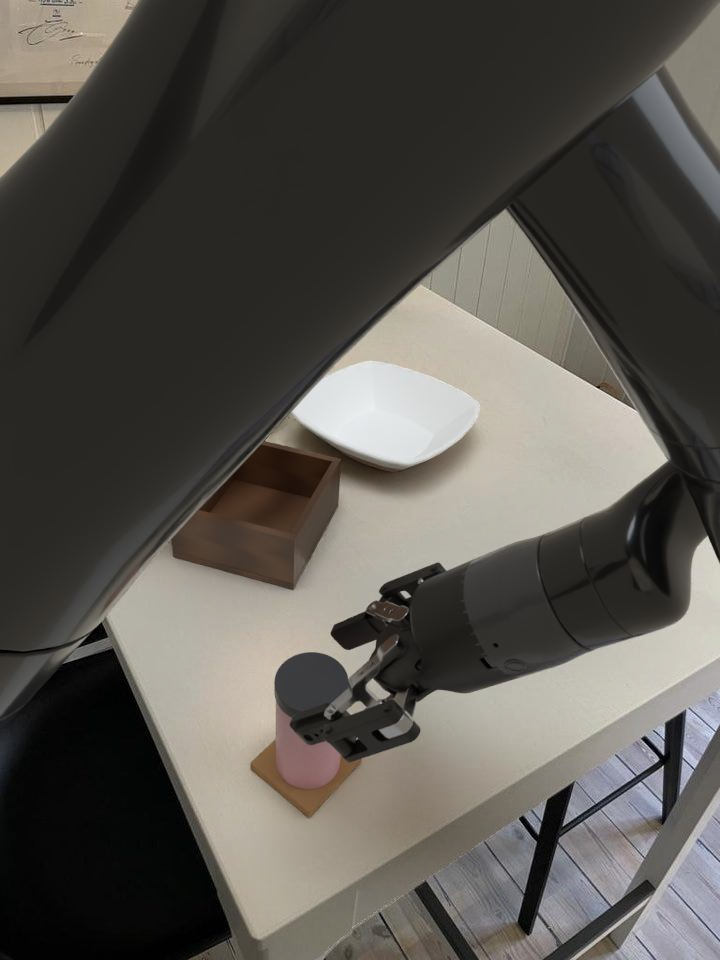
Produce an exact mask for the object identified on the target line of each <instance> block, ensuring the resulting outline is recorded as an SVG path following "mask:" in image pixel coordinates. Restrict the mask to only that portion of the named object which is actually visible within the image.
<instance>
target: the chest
mask: <svg viewBox="0 0 720 960" xmlns="http://www.w3.org/2000/svg"><path fill="white" fill-rule="evenodd" d="M341 466H342V458H340V457H339V458H338V457H335V456H330V455H326V454H321V453H317V452H313V451H309V450H305V449H300V448H296V447H291V446H288V445H284V444H279V443H274V442H270V441H266V440H265V441H264V442H263V443H262V444H261V445H260V446H259V447H258V448H257V449H256V451H255V452H254V453H253V454H252V455H251V456H250V457H249V458H248V459H247V460H246V461H245V462H244V463H243V464H242V465H241V466H240V468H239V469H238V470H237V471H236V472H235V473H234V474H233V475H232V476H231V477H230V478H229V479H228V480H227V481H226V482H225V483H224V484H223V485H222V486H221V487H220V489H219V490H218V491H217V492H216V493H215V494H214V495H213V496H212V497H211V498H210V499H209V500H208V501H207V502H206V503H205V504H204V505H203V506H202V507H201V508H200V509H199V510H198V511H197V512H196V514H195V515H194V516H193V517H192V518H191V519H190V520H189V521H188V522H187V523H186V524H185V525H184V526H183V527H182V528H181V529H180V530H179V532H178V533H177V534H176V535H175V536H174V537H173V538H172V539H171V540H170V542H171V548H172V549H171V551H172V557H173V558H175V559H179V560H184V561H187V562H191V563H194V564H198V565H203V566H206V567H209V568H212V569H213V568H214V569H217V570H220V571H223V572H227V573H232V574H235V575H238V576H243V577H246V578H250V579H253V580H257V581H260V582H265V583H268V584H271V585H275V586H279V587H283V588H286V589H290V590H294V589H295V587H296V586H297V584H298V582H299V580H300V578H301V576H302V575H303V572H304V571H305V569H306V567H307V565H308V563H309V562H310V559H311V557H312V556H313V554H314V552H315V550H316V548H317V547H318V544H319V543H320V541H321V539H322V537H323V535H324V533H325V531H326V530H327V528H328V526H329V524H330V522H331V520H332V518H333V516H334V515H335V513H336V511H337V509H338V507H339V501H340V500H339V499H340V485H341V468H342V467H341Z"/></svg>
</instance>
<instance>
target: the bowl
mask: <svg viewBox="0 0 720 960" xmlns="http://www.w3.org/2000/svg"><path fill="white" fill-rule="evenodd" d="M480 410H481V404H480V402H479V401H477V400H476V399H475V398H473V397H472V396H471V395H469V394H468V393H466V392H465V391H463V390H461V389H458V388H457V387H455V386H453V385H450V384H449V383H447V382H444V381H442V380H440V379H438V378H436V377H433V376H431V375H429V374H426V373H422V372H419V371H416V370H413V369H410V368H407V367H404V366H400V365H396V364H394V363H389V362H383V361H378V360H372V359H370V360H365V361H361V362H357V363H353V364H350V365H348V366H345V367H343V368H339V369H338V370H336V371H334V372H332V373H330V374H327V375H325V377H324V378H323V379H322V380H321V381H320V382H319V383H318V384H317V385H316V386H315V387H314V388H313V389H312V390H311V391H310V392H309V393H308V394H307V396H306V397H305V398H304V399H303V400H302V401H301V402H300V403H299V404H298V405H297V406H296V407H295V409H294V410H293V411H292V412H291V413H290V415H291V416H292V417H293V418H294V419H295V420H296V421H297V422H298V423H299V424H300V425H301V426H303V427H304V428H306V429H307V430H309V431H310V432H311V433H313V434H314V435H316V436H317V437H319V438H320V439H321V440H323V441H324V442H326V443H327V444H329V445H330V446H332V447H333V448H334V449H336V450H337V451H339V452H340V453H342V454H343V455H345V456H347V457H348V458H350V459H351V460H354V461H356V462H358V463H361V464H363V465H366V466H369V467H373V468H375V469H379V470H381V471H385V472H390V473H398V472H401V471H404V470H407V469H409V468H411V467H414V466H417V465H420V464H421V463H424V462H428V460H432V458H434V457H436V456H438V455H440V454H442V453H444V452H445V451H446V450H449V448H451V447H452V446H454V445H455V444H456V443H458V442H459V441H461V439H462V438H463V437H464V436H465V435H466V434H467V433H468V432H469V431H470V430H471V429H472V428H473V426H474V425H475V423H476V421H477V420H478V419H479V415H480Z"/></svg>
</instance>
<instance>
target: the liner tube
mask: <svg viewBox="0 0 720 960" xmlns="http://www.w3.org/2000/svg"><path fill="white" fill-rule="evenodd" d="M348 680H349V676H348V672H347V670H346V669H345V667H344V666H343V665H342V663H340V661H338V660H337V659H335V658H334V657H333V656H330V655H328V654H326V653H321V652H316V651H308V652H307V651H306V652H300V653H298V654H295V655H292V656H291V657H289V658H287V659H286V660H285V661H283V663H282V664H281V665H279V667H278V669H277V671H276V673H275V676H274V684H273V685H274V686H273V687H274V694H273V695H274V699H275V739H276V766H277V770H278V772H279V774H280V776H281V777H282V778H283V779H284V780H285V781H286V782H287V783H288V784H290V785H292V786H294V787H296V788H300V789H315V788H319V787H322V786H324V785H326V784H327V783H329V782H330V781H331V780H332V779H333V778H334V777H335V775H336V774H337V772H338V770H339V767H340V760H341V754H339V753H338V752H337V751H336V750H335V749H334V748H333V747H332V746H331V745H330V744H329V743H327V742H326V741H325V742H321V743H317V744H315V745H307V744H306V743H305V742H304V741H303V740H302V739H301V738H300V737H299V736H298V735H297V734H296V733H295V732H294V730H293V729H292V728H291V727H290V725H289V724H290V722H291V719H292V717H293V715H294V714H296V713H299V712H302V711H305V710H308V709H311V708H314V707H317V706H320V705H323V704H325V703H329V704H331V703H332V702H333V701H334V700H335V699H336V698H337V697H339V696H340V695H341V694H342V693H343V692H344V691H345V690H346V689H347V688H348V686H349V685H348Z"/></svg>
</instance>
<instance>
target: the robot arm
mask: <svg viewBox="0 0 720 960" xmlns="http://www.w3.org/2000/svg"><path fill="white" fill-rule="evenodd" d="M719 4H720V0H137V3H136V4H135V6H134V7H133V9H132V11H131V13H130V14H129V15H128V17H127V19H126V21H125V22H124V24H123V25H122V26H121V28H120V30H119V31H118V33H117V34H116V35H115V37H114V38H113V40H112V41H111V43H110V44H109V45H108V47H107V49H106V50H105V51H104V53H103V54H102V56H101V57H100V59H99V60H98V62H97V63H96V65H95V66H94V67H93V69H92V71H91V72H90V73H89V75H88V76H87V78H86V79H85V81H84V82H83V84H82V85H81V86H80V88H78V90H77V91H76V93H75V94H74V95H73V96H72V97H71V99H70V100H69V101H68V102H67V103H66V105H65V106H64V107H63V108H62V110H61V111H60V112H59V113H58V115H56V117H55V118H54V120H53V121H52V122H51V124H50V125H49V126H48V127H47V128H46V130H45V131H44V132H43V133H42V134H41V135H40V136H39V137H38V138H37V139H36V140H35V142H33V143H32V144H31V146H30V147H29V148H28V149H26V151H25V152H24V153H22V155H21V156H20V157H19V158H18V159H17V160H16V161H15V162H14V163H13V164H12V165H11V166H10V167H9V168H8V169H7V170H6V171H5V172H4V173H3V174H2V175H1V176H0V730H2V729H3V728H4V727H5V725H7V724H8V723H9V722H11V720H12V719H13V718H14V717H15V716H16V715H17V714H18V713H19V712H20V711H21V710H22V709H23V708H24V707H25V706H26V705H27V704H28V703H29V702H30V700H32V698H33V697H35V695H36V694H37V692H38V691H39V690H40V689H41V688H42V687H43V686H44V685H45V684H46V683H47V681H48V680H49V679H50V678H51V677H52V676H53V675H55V673H56V672H57V671H58V670H59V668H60V667H62V665H63V664H64V663H65V662H66V661H67V659H68V658H69V657H71V655H72V654H73V653H74V652H75V651H76V650H77V649H78V647H79V646H80V645H81V644H82V643H83V642H84V641H85V640H86V639H87V638H88V637H89V636H90V634H91V633H92V632H93V631H94V630H95V629H96V628H97V627H98V626H99V624H101V623H102V622H103V621H104V619H105V618H106V617H107V616H108V614H110V612H111V611H112V610H113V609H114V608H115V606H116V605H117V604H118V603H119V601H120V600H121V599H122V598H123V597H124V596H125V594H126V593H127V592H128V591H129V589H130V588H131V587H132V586H133V584H134V583H135V582H136V580H138V579H139V577H140V576H141V575H142V573H144V571H145V570H146V569H147V567H148V566H150V564H151V563H152V562H153V561H154V559H155V558H156V557H157V556H158V555H159V554H160V552H161V551H163V549H164V548H165V547H166V546H167V545H168V543H169V542H171V539H172V538H173V537H174V536H175V535H176V534H177V533H178V532H179V530H180V529H181V528H182V527H183V526H184V525H185V524H186V523H187V522H188V521H189V520H190V519H191V518H192V517H193V516H194V515H195V514H196V512H197V511H198V510H199V509H200V508H201V507H202V506H203V505H204V504H205V503H206V502H207V501H208V500H209V499H210V498H211V497H212V496H213V495H214V494H215V493H216V492H217V491H218V490H219V489H220V487H221V486H222V485H223V484H224V483H225V482H226V481H227V480H228V479H229V478H230V477H231V476H232V475H233V474H234V473H235V472H236V471H237V470H238V469H239V468H240V466H241V465H242V464H243V463H244V462H245V461H246V460H247V459H248V458H249V457H250V456H251V455H252V454H253V453H254V452H255V451H256V449H257V448H258V447H259V446H260V445H261V444H262V443H263V442H264V441H266V440H267V439H268V438H269V437H270V436H271V435H272V433H274V431H275V430H277V428H278V427H280V425H281V424H282V423H283V422H284V421H285V419H286V418H288V417H289V415H291V412H292V411H293V410H294V409H295V407H296V406H297V405H298V404H299V403H300V402H301V401H302V400H303V399H304V398H305V397H306V396H307V394H308V393H309V392H310V391H311V390H312V389H313V388H314V387H315V386H316V385H317V384H318V383H319V382H320V381H321V380H322V379H323V378H324V377H326V376H327V375H328V374H329V372H331V370H332V369H333V368H334V367H335V366H336V365H337V364H338V363H339V362H340V361H341V360H342V359H343V358H344V357H345V356H346V355H348V353H349V352H350V351H351V350H352V349H353V348H355V347H356V345H357V344H359V342H361V340H363V338H365V337H366V336H367V335H368V334H369V333H370V332H372V330H373V329H374V328H375V327H377V325H378V324H379V323H381V321H382V320H384V319H385V318H386V317H387V316H388V315H389V314H390V313H391V312H392V311H393V310H394V309H396V307H398V306H399V305H400V304H401V303H402V302H403V301H404V300H405V299H407V297H409V296H410V295H411V294H412V293H413V292H414V291H415V290H417V288H418V287H419V286H420V285H421V284H423V283H424V282H425V281H426V280H427V279H428V278H430V277H431V276H432V275H433V274H434V273H435V272H436V271H438V270H439V269H440V267H442V266H443V265H444V264H446V262H447V261H449V260H450V259H451V258H452V257H453V256H454V255H455V254H457V253H458V252H459V251H460V250H461V249H462V248H463V247H465V246H466V245H467V244H468V243H469V242H470V241H471V240H473V239H474V238H475V237H476V236H477V235H478V234H479V233H480V232H481V231H482V230H484V229H485V228H486V227H488V225H489V224H490V223H492V222H493V221H494V220H495V219H496V218H497V217H498V216H500V215H501V214H502V213H503V212H504V211H506V213H507V214H508V215H509V217H510V218H511V219H512V221H513V222H514V223H515V225H516V226H517V228H518V229H519V230H520V231H521V233H523V235H524V237H525V238H526V240H527V241H528V243H529V244H530V246H531V247H532V248H533V250H534V251H535V252H536V254H537V256H538V257H539V259H540V260H541V262H542V263H543V264H544V266H545V267H546V269H547V270H548V272H549V273H550V275H551V277H552V278H553V279H554V281H555V282H556V284H557V285H558V287H559V289H560V290H561V291H562V293H563V295H564V296H565V298H566V299H567V301H568V302H569V304H570V305H571V307H572V309H573V310H574V312H575V314H576V315H577V316H578V318H579V320H580V321H581V323H582V324H583V326H584V327H585V329H586V331H587V332H588V334H589V335H590V337H591V339H592V341H593V342H594V343H595V345H596V347H597V348H598V350H599V352H600V353H601V355H602V356H603V358H604V360H605V361H606V363H607V364H608V366H609V368H610V369H611V371H612V373H613V375H614V376H615V378H616V379H617V381H618V383H619V385H620V386H621V388H622V389H623V391H624V393H625V394H626V396H627V398H628V399H629V401H630V403H631V405H632V406H633V408H634V409H635V411H636V412H637V414H638V416H639V417H640V419H641V420H642V422H643V424H644V425H645V427H646V428H647V430H648V432H649V433H650V435H651V436H652V438H653V439H654V442H655V443H656V444H657V446H658V448H659V449H660V451H661V452H662V454H663V455H664V457H665V458H666V459H667V460H666V461H665V462H663V464H662V465H660V466H659V467H658V468H657V469H655V470H654V471H652V473H650V474H649V475H647V476H646V477H645V478H644V479H642V480H641V481H639V482H638V483H637V484H636V485H634V486H633V487H632V488H630V490H628V491H627V492H626V493H624V494H623V495H622V496H621V497H619V498H618V499H617V500H616V501H614V502H613V503H612V504H610V505H609V506H607V507H605V508H603V509H601V510H598V511H596V512H593V513H591V514H589V515H587V516H584V517H582V518H579V519H577V520H575V521H573V522H570V523H567V524H565V525H563V526H561V527H560V526H559V527H558V528H556V529H553V530H551V531H549V532H546V533H543V534H540V535H538V536H533V537H530V538H526V539H525V538H524V539H522V540H518V541H514V542H511V543H509V544H507V545H504V546H502V547H499V548H497V549H495V550H492V551H490V552H488V553H485V554H482V555H481V556H478V557H476V558H473V559H471V560H469V561H466V562H464V563H462V564H460V565H458V566H455V567H453V568H450V569H448V570H447V569H446V568H445V567H444V566H443V565H442V564H441V562H434V563H432V564H429V565H427V566H425V567H422V568H419V569H417V570H414V571H412V572H409V573H407V574H404V575H402V576H399V577H396V578H394V579H392V580H388V581H386V582H385V583H383V584H382V585H381V587H380V588H379V590H378V593H379V594H380V595H381V597H380V599H379V600H374V601H372V602H371V603H369V605H368V606H367V607H366V609H365V610H364V611H362V612H360V613H358V614H355V615H353V616H350V617H348V618H346V619H344V620H342V621H339V622H337V623H335V624H334V625H332V628H331V631H330V636H331V637H332V638H333V640H334V641H335V642H336V643H337V644H338V645H339V646H340V647H341V648H342V649H344V650H346V651H351V650H354V649H356V648H358V647H361V646H364V645H367V644H369V643H372V642H374V641H375V648H374V650H373V652H372V653H371V655H370V656H369V659H368V660H367V661H366V662H365V663H364V664H363V665H362V666H360V667H359V668H358V669H357V670H356V671H355V672H353V674H352V675H351V676H350V677H348V685H349V686H348V688H347V689H346V690H345V691H344V692H343V693H342V694H341V695H340V696H339V697H337V698H336V699H335V700H334V701H333V702H332V703H331V704H329V703H325V704H323V705H320V706H317V707H314V708H311V709H308V710H305V711H302V712H299V713H296V714H294V715H293V717H292V719H291V722H290V724H289V725H290V727H291V728H292V729H293V730H294V732H295V733H296V734H297V735H298V736H299V737H300V738H301V739H302V740H303V741H304V742H305V743H306V744H307V745H315V744H317V743H321V742H325V741H326V742H327V743H329V744H330V745H331V746H332V747H333V748H334V749H335V750H336V751H337V752H338V753H339V754H341V755H342V757H343V758H344V759H345V760H346V761H347V762H353V761H356V760H359V759H361V760H362V759H364V758H368V757H370V756H371V757H372V756H375V755H377V754H379V753H384V752H386V751H389V750H392V749H394V748H395V749H396V748H398V747H401V746H404V745H406V744H411V743H413V742H414V741H415V740H416V739H418V737H419V736H420V734H421V730H422V729H421V727H420V725H419V724H418V723H417V722H416V720H414V714H415V709H416V706H417V703H418V702H420V701H423V700H424V699H425V698H426V697H427V696H429V695H431V694H432V693H434V692H437V691H445V692H450V693H451V692H452V693H457V694H471V693H474V692H477V691H478V692H479V691H481V690H484V689H488V688H491V687H494V686H497V685H500V684H504V683H507V682H510V681H511V682H512V681H513V680H517V679H520V678H524V677H527V676H530V675H533V674H536V673H540V672H543V671H547V670H550V669H553V668H556V667H559V666H562V665H565V664H567V663H569V662H571V661H573V660H575V659H577V658H579V657H581V656H583V655H585V654H588V653H591V652H594V651H596V650H599V649H603V648H606V647H610V646H613V645H616V644H620V643H623V642H626V641H629V640H633V639H635V638H640V637H643V636H646V635H649V634H652V633H655V632H657V631H661V630H664V629H666V628H668V627H671V626H673V625H675V624H677V623H678V622H679V621H681V620H682V619H684V618H685V616H686V615H687V613H688V611H689V609H690V606H691V599H692V568H693V559H694V557H695V552H696V551H697V548H698V547H699V546H700V545H701V543H703V541H705V539H706V538H708V541H709V543H710V544H711V547H712V550H713V552H714V554H715V557H716V559H717V562H718V563H719V564H720V148H719V147H718V145H716V143H715V142H714V140H713V139H712V138H711V136H710V134H709V133H708V132H707V130H706V129H705V127H704V126H703V124H702V123H701V122H700V120H699V119H698V117H697V116H696V115H695V113H694V111H693V110H692V108H691V107H690V105H689V103H688V102H687V100H686V98H685V96H684V95H683V93H682V91H681V90H680V87H679V86H678V84H677V82H676V81H675V79H674V77H673V76H672V74H671V72H670V70H669V69H668V67H667V65H666V63H667V62H668V61H669V60H671V58H672V57H673V56H674V55H675V54H676V53H677V52H678V50H680V49H681V48H682V47H683V45H684V44H685V43H687V41H688V40H689V39H690V38H691V37H692V36H693V35H694V34H695V33H696V31H697V30H698V29H699V28H700V27H701V26H702V25H703V24H704V23H705V22H706V20H707V19H708V18H709V16H710V15H711V14H712V13H713V12H714V10H715V9H716V8H717V6H718V5H719ZM402 592H406V593H407V594H408V595H409V597H405V596H404V595H403V594H402ZM372 679H373V680H374V681H375V682H376V683H377V685H379V687H381V688H382V690H384V691H386V692H387V693H388V694H389V695H388V696H387V697H386V698H382V699H381V698H379V697H378V696H376V695H375V694H374V692H372V690H371V689H370V688H369V687H368V686H367V685H368V683H369V682H371V681H372ZM357 702H360V703H362V704H363V706H364V707H365V708H364V709H363V710H360V711H358V712H357V711H356V712H354V713H352V714H351V713H350V712H349V711H348V710H349V709H350V708H351V707H352V706H353V705H354V704H355V703H357Z"/></svg>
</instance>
